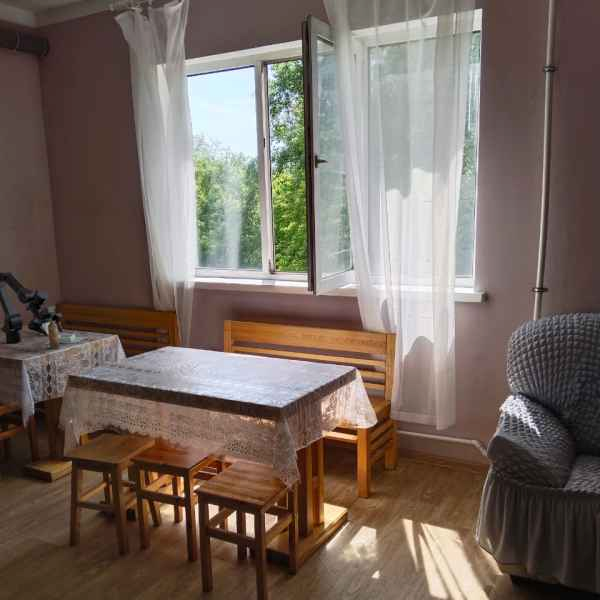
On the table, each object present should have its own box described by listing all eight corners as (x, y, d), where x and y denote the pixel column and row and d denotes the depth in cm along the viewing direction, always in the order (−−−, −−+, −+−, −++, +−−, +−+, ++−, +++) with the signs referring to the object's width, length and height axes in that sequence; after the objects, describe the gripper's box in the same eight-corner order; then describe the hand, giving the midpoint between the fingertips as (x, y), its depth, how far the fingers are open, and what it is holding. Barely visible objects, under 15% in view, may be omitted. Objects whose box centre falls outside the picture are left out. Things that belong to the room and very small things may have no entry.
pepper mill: (48, 349, 321) (46, 322, 318) (51, 347, 326) (48, 320, 323) (57, 349, 321) (55, 321, 319) (60, 346, 326) (58, 319, 323)
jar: (42, 336, 349) (40, 315, 347) (39, 334, 356) (37, 313, 354) (59, 334, 354) (57, 313, 352) (56, 331, 361) (54, 311, 358)
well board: (44, 344, 332) (44, 339, 331) (51, 339, 343) (51, 334, 343) (79, 343, 333) (78, 338, 332) (85, 337, 345) (84, 332, 344)
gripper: (29, 304, 313) (46, 327, 310) (58, 298, 329) (75, 320, 326) (20, 318, 318) (37, 341, 315) (50, 311, 334) (66, 333, 331)
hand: (54, 333), depth 321 cm, fingers open, 9 cm apart
